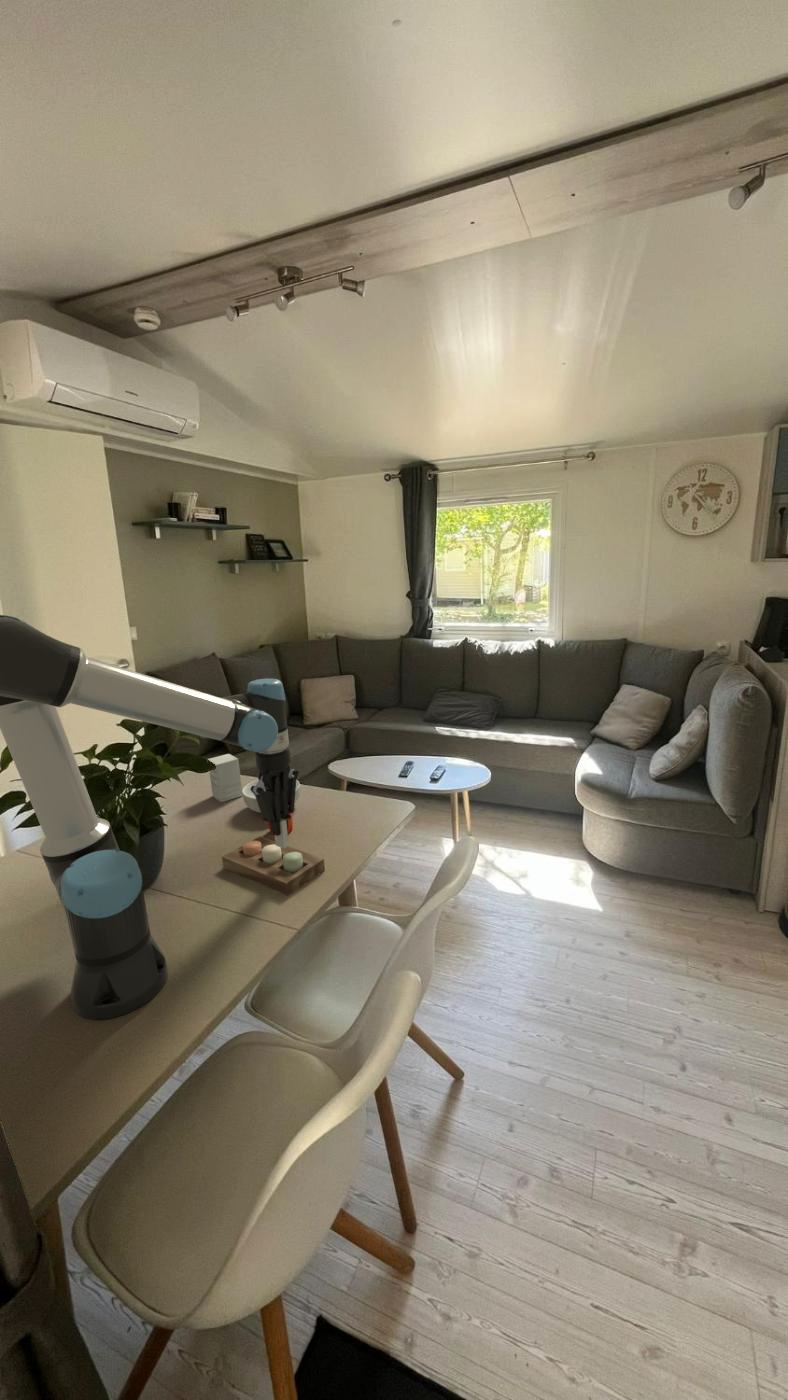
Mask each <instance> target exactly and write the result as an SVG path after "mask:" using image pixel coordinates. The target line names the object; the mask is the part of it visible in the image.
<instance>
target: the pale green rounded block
mask: <svg viewBox="0 0 788 1400" xmlns="http://www.w3.org/2000/svg"><path fill="white" fill-rule="evenodd" d="M283 866H284V870H285V871H287V872H290V873H292V874H294V873H295V872H297V871H299V870H300V869H302V868H303V860H302V854H301V853H299V852H290V853H287V854H285V855H284V856H283Z"/></svg>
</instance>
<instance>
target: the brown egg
mask: <svg viewBox="0 0 788 1400" xmlns="http://www.w3.org/2000/svg"><path fill="white" fill-rule="evenodd" d="M242 846H243V854H244V855H246V856H249V857H253V856H255V855H257V854H258V853H260V852H262V847H261V842H259V841H252V840H250V841H247V842H245V843H243V844H242Z"/></svg>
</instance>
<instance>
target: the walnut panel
mask: <svg viewBox="0 0 788 1400" xmlns="http://www.w3.org/2000/svg"><path fill="white" fill-rule="evenodd" d="M251 841H259V842H261V847H262V849H263V848H264V847H265V846H268V845H273V844H275V840H272V839H269V838H266V837H263V836H258V837H256V838H254V839H252V840H251ZM275 845H276V844H275ZM290 852H299V853H301V854H302V860H303V868H302V869H300V870H299V871H297V872H295V873H294V874H292V873H290V872H287V871H285V870H284V866H283V856H284V855H285V854H287V853H290ZM281 854H282V860H280V861H278V862H277V863H275V864H273V865H269V864H267V863H264V862H263V856H262V852H260V853H258V854H257V855H255V856H253V857H249V856H246V855H244V854H243V845H241V846H238V848H236V849H234V850H232V851H230V852H228V853H226V854H224V855H223V856H221V860H222V865H223V869H225V870H228V871H230V872H231V873H234V874H236V875H239V876H241V877H244V878H246V879H248V880H250V881H253V882H255V883H258V884H260V885H262V886H264V887H267V888H270V889H271V890H273V891H276V892H278V893H281V894H283V895H285V896H289V895H291V894H292V893H294V892H295V891H297V890H298V889H299V888H301V887H302V886H304V885H305V883H306V884H307V883H308V882H310V881H312V880H313V879H314V878H316V877H317V876H319V875H320V874H321V872H322V871H323V872H324V870H326V867H325V859H324V858H323V857H319V856H316V855H314V854H311V853H309V852H306V851H303V850H300V849H299V848H298V849H297V848H294V847H292V846H287V847H286V848H281ZM323 872H322V873H323ZM319 873H320V874H319ZM318 874H319V875H318ZM315 876H316V877H315Z"/></svg>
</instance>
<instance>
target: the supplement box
mask: <svg viewBox="0 0 788 1400" xmlns="http://www.w3.org/2000/svg"><path fill="white" fill-rule="evenodd" d="M208 760H209V761H210V762H212V763H213V764H215V766H216V769H215V770H213V771H210V772H209V771H208V772H209V777H210V778H209V779H210V786H211V793H212V797H214V798H215V799H216V800H217V801H219V802H220V803H225V802H226V801H230V800H232V799H236V798H239V797H243V795H242V790H243V786H242V779H241V770H240V763H239V758H237V757H236V756H234V755H232V754H230V753H226V754H222V755H218V756H215V757H210V758H207V761H208Z"/></svg>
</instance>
